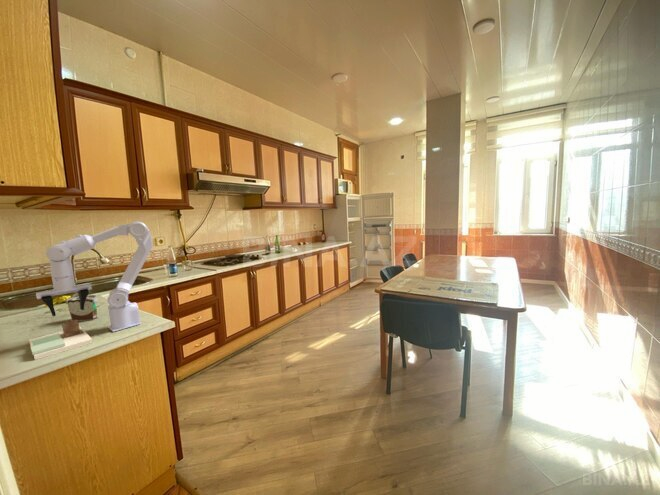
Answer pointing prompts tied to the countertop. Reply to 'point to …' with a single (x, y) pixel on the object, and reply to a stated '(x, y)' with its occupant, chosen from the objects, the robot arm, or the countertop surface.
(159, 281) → the countertop surface
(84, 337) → the puzzle board
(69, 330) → the walnut block
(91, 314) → the food container
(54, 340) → the lid
